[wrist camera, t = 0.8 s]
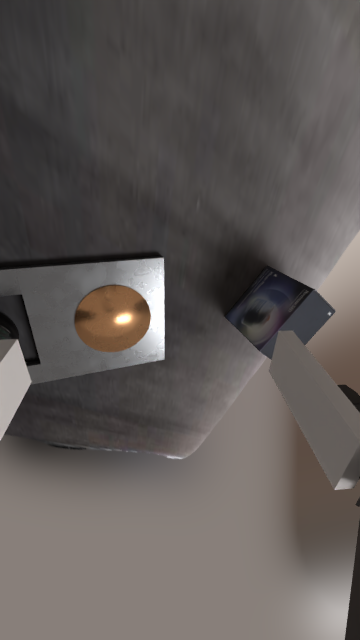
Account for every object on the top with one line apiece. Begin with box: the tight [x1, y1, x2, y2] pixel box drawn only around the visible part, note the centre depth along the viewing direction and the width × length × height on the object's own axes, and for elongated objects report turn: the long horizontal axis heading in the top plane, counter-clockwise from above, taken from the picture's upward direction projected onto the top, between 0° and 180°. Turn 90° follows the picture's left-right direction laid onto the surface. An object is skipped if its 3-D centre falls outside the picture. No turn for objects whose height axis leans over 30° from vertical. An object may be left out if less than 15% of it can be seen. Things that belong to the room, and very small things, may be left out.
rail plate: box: [0, 256, 165, 385], centre depth 36 cm, size 28×16×1 cm, turn 90°
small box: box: [225, 266, 335, 360], centre depth 41 cm, size 11×6×10 cm, turn 141°
